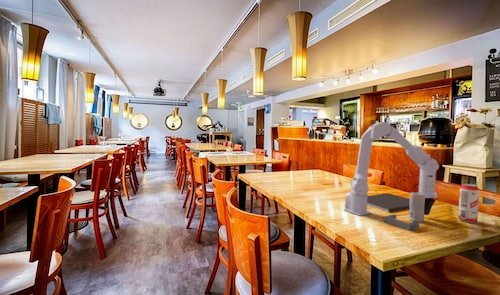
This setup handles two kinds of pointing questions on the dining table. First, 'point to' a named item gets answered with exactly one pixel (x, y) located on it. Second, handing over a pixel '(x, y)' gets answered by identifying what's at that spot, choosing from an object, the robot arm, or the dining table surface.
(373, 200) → the notebook
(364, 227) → the dining table surface
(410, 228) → the metal berth
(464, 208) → the beer can
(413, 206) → the energy drink
